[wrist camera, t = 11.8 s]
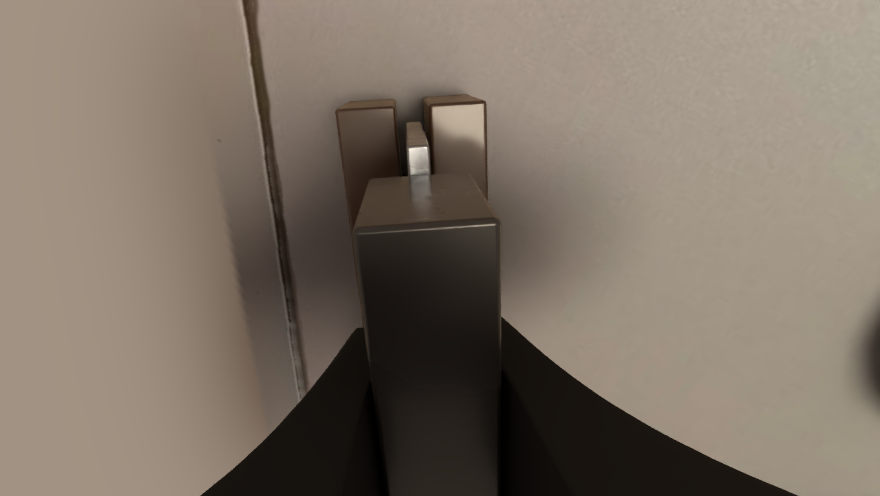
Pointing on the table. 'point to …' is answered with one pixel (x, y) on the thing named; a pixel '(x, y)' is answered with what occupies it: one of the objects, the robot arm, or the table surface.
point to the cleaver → (432, 327)
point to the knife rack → (378, 151)
